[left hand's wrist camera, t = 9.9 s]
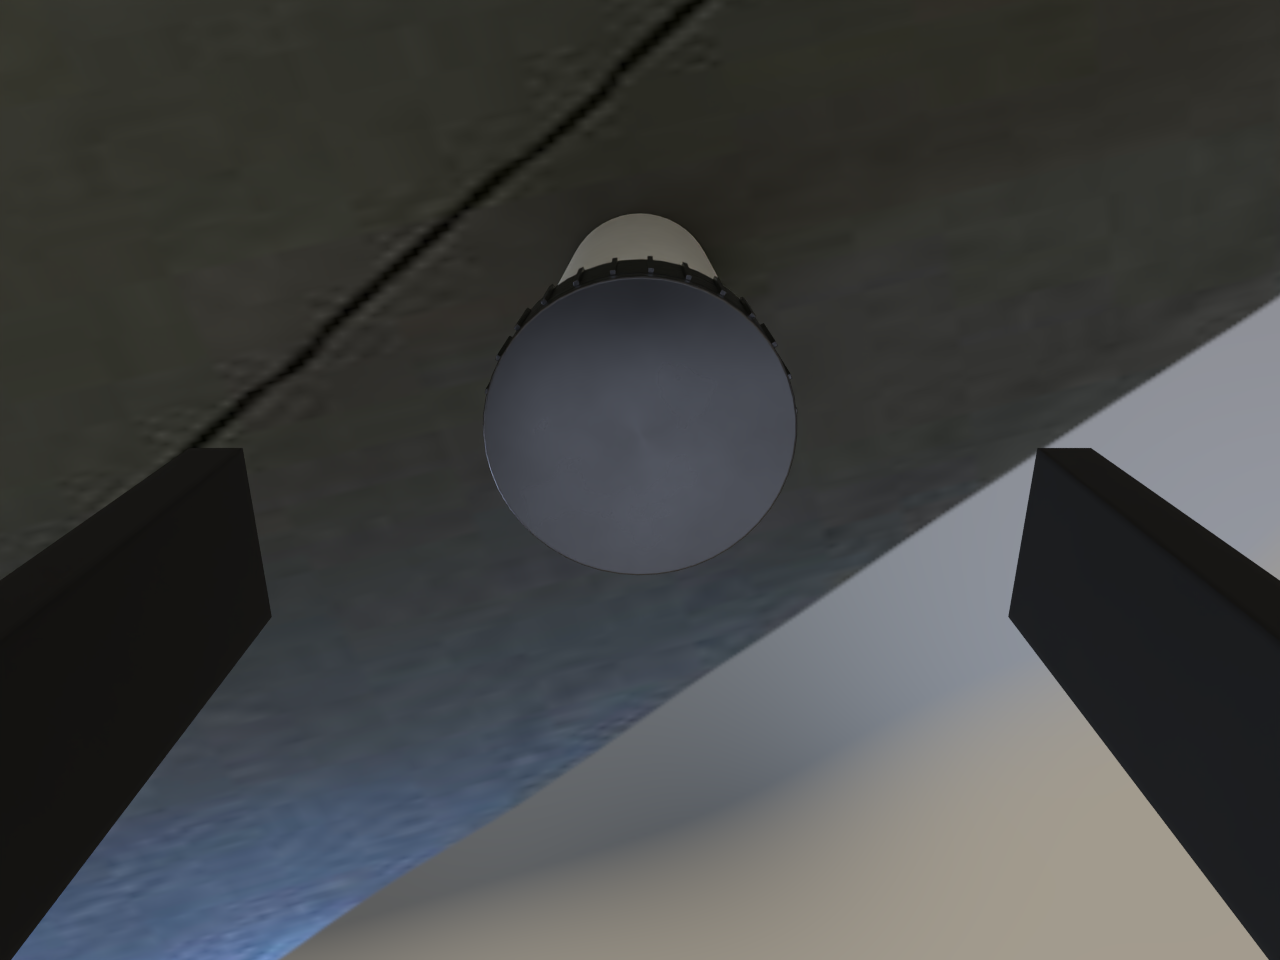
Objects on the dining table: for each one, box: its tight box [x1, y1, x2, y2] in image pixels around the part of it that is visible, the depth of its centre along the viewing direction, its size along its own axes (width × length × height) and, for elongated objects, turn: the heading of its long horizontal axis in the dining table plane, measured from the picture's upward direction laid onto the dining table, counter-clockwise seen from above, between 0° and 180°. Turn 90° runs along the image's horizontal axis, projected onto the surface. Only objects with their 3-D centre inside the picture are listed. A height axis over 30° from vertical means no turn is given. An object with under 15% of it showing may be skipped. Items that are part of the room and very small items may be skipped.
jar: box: [558, 213, 718, 285], centre depth 25 cm, size 5×5×16 cm
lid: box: [483, 256, 797, 575], centre depth 18 cm, size 6×6×2 cm
